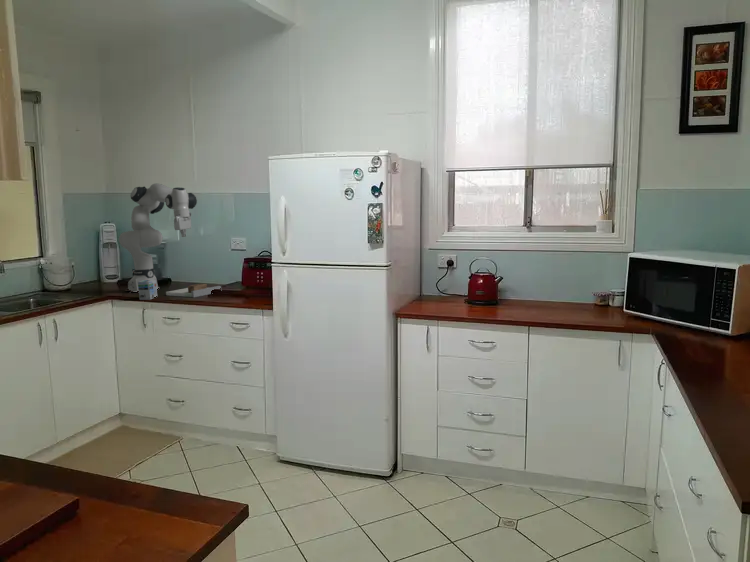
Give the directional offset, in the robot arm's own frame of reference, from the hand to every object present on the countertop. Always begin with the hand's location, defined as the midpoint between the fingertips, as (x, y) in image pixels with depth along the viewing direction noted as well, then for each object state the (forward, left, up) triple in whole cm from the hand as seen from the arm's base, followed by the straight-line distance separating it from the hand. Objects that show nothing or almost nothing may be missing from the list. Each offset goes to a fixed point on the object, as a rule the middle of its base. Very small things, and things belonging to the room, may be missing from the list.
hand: (183, 236), depth 353 cm
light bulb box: (-4, -26, -34) cm, 43 cm away
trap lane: (+9, -4, -34) cm, 36 cm away
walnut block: (+17, -7, -32) cm, 37 cm away
